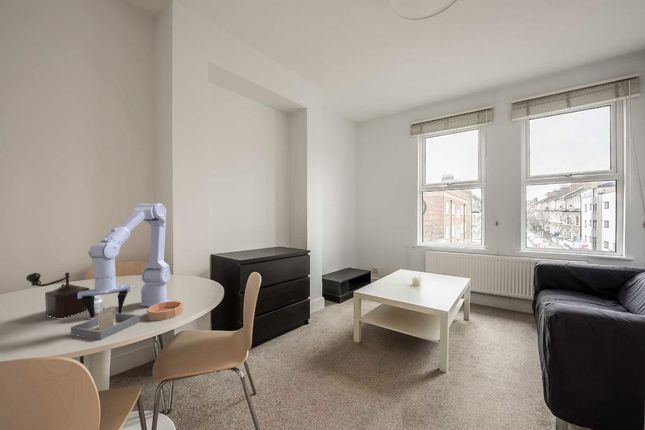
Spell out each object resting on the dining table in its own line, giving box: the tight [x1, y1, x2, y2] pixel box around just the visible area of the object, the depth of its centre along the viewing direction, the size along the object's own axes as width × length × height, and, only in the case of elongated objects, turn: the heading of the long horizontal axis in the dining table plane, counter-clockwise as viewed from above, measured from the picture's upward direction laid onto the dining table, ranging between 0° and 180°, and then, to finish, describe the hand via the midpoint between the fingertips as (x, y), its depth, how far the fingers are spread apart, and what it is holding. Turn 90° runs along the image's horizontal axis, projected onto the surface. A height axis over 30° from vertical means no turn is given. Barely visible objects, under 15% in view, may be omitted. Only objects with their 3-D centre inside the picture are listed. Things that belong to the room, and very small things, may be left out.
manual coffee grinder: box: [25, 272, 91, 319], centre depth 105 cm, size 16×11×18 cm
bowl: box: [146, 300, 184, 321], centre depth 105 cm, size 12×12×3 cm
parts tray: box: [70, 311, 141, 340], centre depth 93 cm, size 14×14×2 cm
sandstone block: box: [98, 307, 117, 331], centre depth 93 cm, size 4×4×6 cm
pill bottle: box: [86, 295, 104, 320], centre depth 103 cm, size 5×5×8 cm
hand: (106, 314), depth 93 cm, fingers open, 7 cm apart
